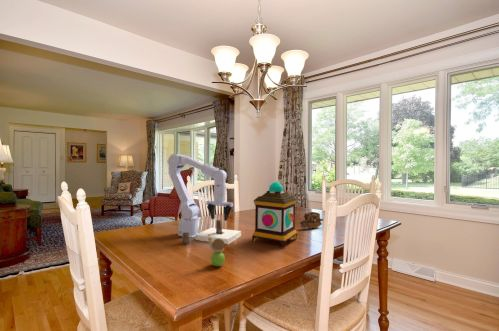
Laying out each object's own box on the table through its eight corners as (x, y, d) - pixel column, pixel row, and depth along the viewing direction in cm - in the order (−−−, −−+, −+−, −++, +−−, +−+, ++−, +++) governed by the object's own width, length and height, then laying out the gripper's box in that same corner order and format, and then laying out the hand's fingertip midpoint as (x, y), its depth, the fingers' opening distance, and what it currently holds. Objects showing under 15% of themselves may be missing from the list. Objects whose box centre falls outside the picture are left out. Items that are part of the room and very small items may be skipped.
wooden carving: (304, 231, 152) (304, 213, 152) (299, 229, 156) (299, 212, 156) (324, 227, 160) (325, 211, 160) (319, 226, 164) (319, 210, 164)
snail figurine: (208, 263, 102) (208, 232, 101) (224, 263, 102) (225, 232, 102) (207, 268, 96) (207, 236, 96) (224, 268, 97) (225, 236, 97)
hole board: (195, 239, 131) (195, 234, 131) (211, 232, 146) (211, 227, 146) (228, 244, 125) (228, 239, 125) (241, 235, 140) (241, 231, 140)
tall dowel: (215, 238, 135) (215, 220, 135) (217, 236, 138) (218, 219, 138) (220, 238, 134) (220, 221, 134) (222, 237, 137) (223, 220, 136)
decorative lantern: (266, 233, 146) (267, 179, 145) (300, 239, 136) (301, 181, 136) (248, 242, 129) (249, 181, 128) (285, 249, 119) (287, 183, 118)
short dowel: (181, 244, 124) (181, 233, 124) (184, 242, 127) (185, 232, 127) (186, 244, 123) (186, 234, 123) (190, 243, 126) (190, 232, 126)
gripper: (203, 193, 134) (203, 219, 134) (229, 195, 129) (228, 222, 129) (210, 192, 141) (209, 217, 141) (234, 193, 136) (234, 219, 136)
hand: (219, 219), depth 136 cm, fingers open, 7 cm apart
